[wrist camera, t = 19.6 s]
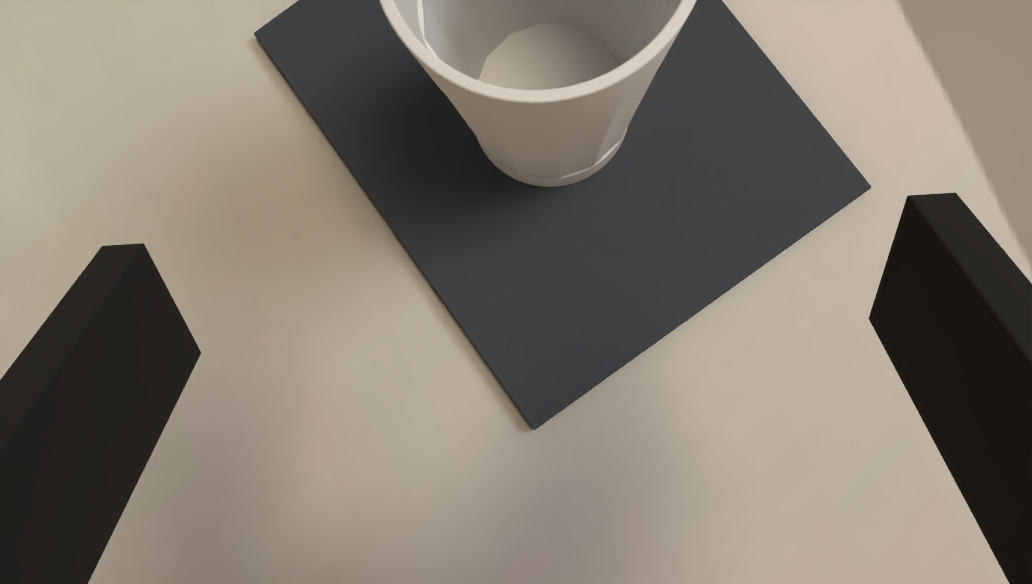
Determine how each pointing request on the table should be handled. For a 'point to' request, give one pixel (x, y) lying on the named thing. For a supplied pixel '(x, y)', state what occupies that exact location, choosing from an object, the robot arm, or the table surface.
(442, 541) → the table surface
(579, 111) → the cup
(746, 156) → the mat
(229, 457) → the table surface
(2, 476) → the robot arm
